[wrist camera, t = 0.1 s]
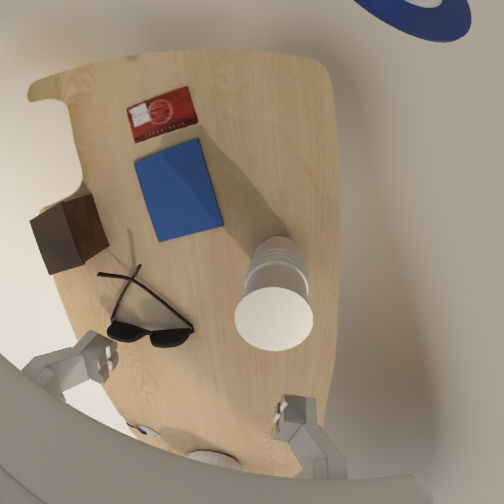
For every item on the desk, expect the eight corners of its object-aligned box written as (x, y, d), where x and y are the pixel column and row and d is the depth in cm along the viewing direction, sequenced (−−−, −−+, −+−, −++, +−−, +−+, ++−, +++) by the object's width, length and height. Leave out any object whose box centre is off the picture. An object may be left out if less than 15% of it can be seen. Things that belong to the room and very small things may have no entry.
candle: (244, 264, 38) (220, 330, 24) (270, 222, 35) (259, 271, 21) (286, 288, 38) (284, 362, 24) (314, 249, 36) (330, 310, 22)
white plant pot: (210, 443, 57) (202, 473, 48) (255, 465, 60) (250, 492, 51) (169, 453, 64) (160, 478, 55) (209, 474, 67) (203, 497, 58)
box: (58, 209, 38) (29, 221, 31) (92, 191, 36) (60, 201, 29) (75, 258, 41) (49, 275, 34) (110, 246, 39) (83, 265, 32)
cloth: (135, 162, 34) (133, 163, 34) (198, 138, 32) (197, 138, 32) (160, 241, 38) (158, 242, 38) (223, 225, 36) (223, 225, 36)
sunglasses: (181, 253, 38) (167, 267, 34) (196, 335, 43) (187, 354, 39) (94, 255, 40) (76, 267, 36) (115, 326, 45) (102, 342, 41)
